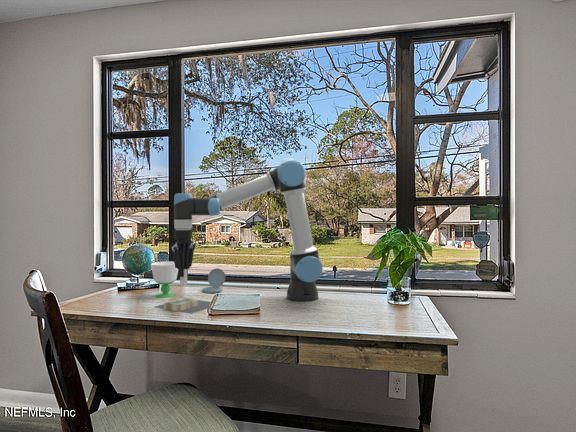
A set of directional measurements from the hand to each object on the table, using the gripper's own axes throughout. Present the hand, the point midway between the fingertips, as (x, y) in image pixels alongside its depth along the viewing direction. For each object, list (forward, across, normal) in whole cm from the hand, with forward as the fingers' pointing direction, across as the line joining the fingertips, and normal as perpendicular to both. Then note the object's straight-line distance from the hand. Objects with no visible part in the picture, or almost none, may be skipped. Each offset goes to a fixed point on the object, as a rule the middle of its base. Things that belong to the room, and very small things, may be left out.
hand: (183, 284), depth 187 cm
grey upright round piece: (+11, -33, -13) cm, 37 cm away
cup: (+11, -14, -26) cm, 31 cm away
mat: (+10, -3, 0) cm, 11 cm away
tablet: (+9, -5, 0) cm, 10 cm away
